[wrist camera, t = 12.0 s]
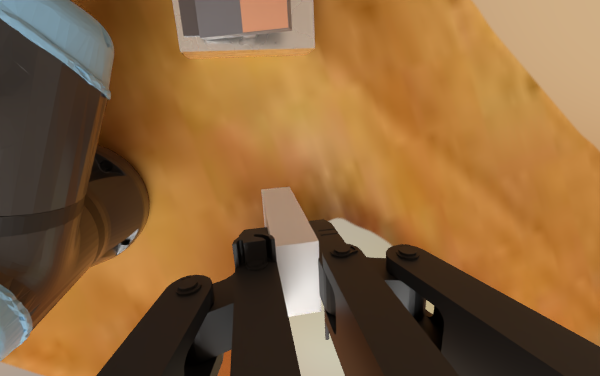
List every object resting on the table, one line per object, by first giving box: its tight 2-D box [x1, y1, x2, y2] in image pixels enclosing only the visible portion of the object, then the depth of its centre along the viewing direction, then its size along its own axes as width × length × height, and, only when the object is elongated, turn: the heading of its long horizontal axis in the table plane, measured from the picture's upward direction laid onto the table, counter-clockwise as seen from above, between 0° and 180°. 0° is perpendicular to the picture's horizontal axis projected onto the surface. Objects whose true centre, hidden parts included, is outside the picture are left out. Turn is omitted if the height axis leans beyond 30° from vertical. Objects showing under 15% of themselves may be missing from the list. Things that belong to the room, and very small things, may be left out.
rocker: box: [195, 0, 292, 40], centre depth 28 cm, size 9×4×2 cm, turn 94°
